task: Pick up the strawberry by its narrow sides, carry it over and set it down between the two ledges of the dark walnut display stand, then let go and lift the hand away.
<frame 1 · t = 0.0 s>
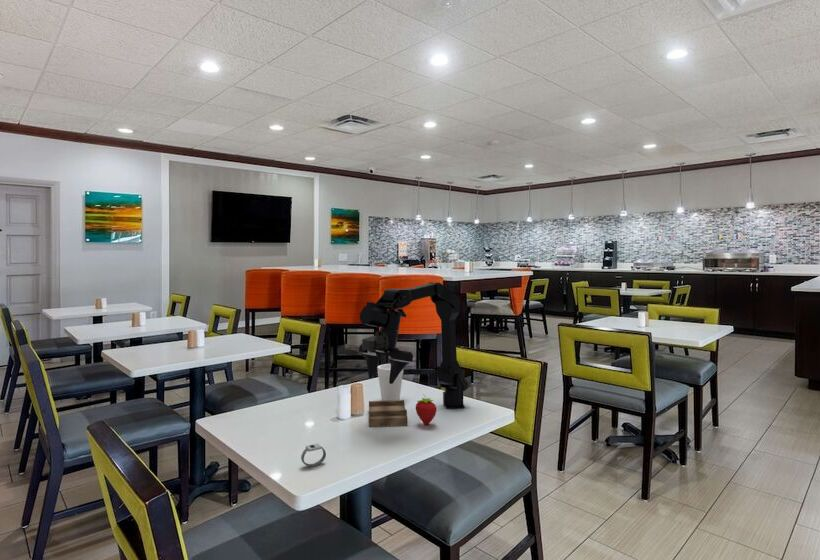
hand: (380, 380, 142), 15 cm above the table, tool pointing down, fingers open, 9 cm apart
strawberry: (426, 426, 148), on the table
display stand: (387, 417, 155), on the table
foam cup: (390, 402, 172), on the table
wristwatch: (313, 466, 120), on the table
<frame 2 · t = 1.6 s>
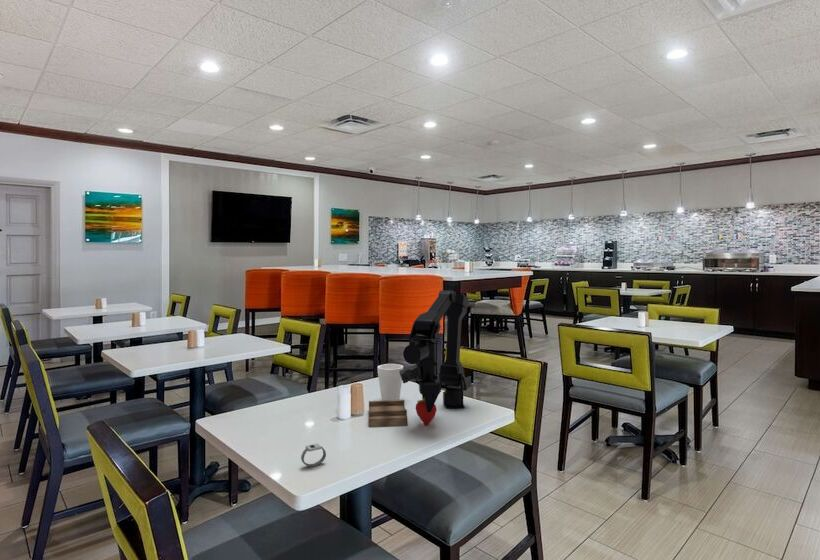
hand: (427, 407, 147), 6 cm above the table, tool pointing down, fingers open, 9 cm apart
nothing on the table moved.
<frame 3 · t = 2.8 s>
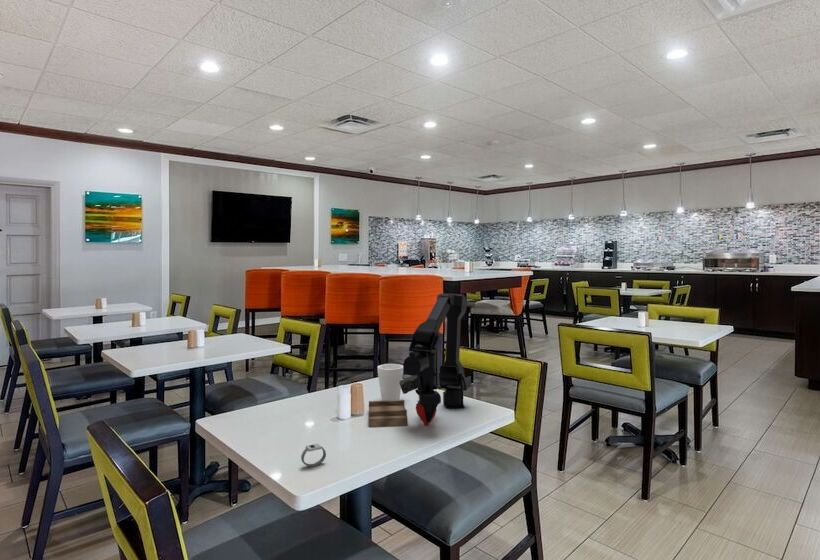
hand: (426, 417, 148), 2 cm above the table, tool pointing down, fingers closed on strawberry, 7 cm apart
strawberry: (426, 426, 148), on the table, touching gripper
everything else where it was.
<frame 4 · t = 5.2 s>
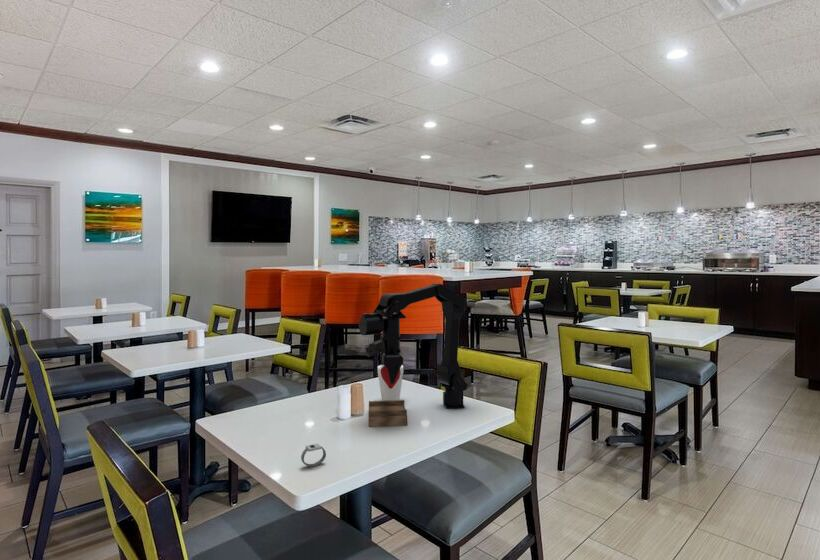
hand: (391, 380, 153), 13 cm above the table, tool pointing down, fingers closed on strawberry, 7 cm apart
strawberry: (390, 389, 153), point 10 cm above the table, touching gripper
everything else where it was.
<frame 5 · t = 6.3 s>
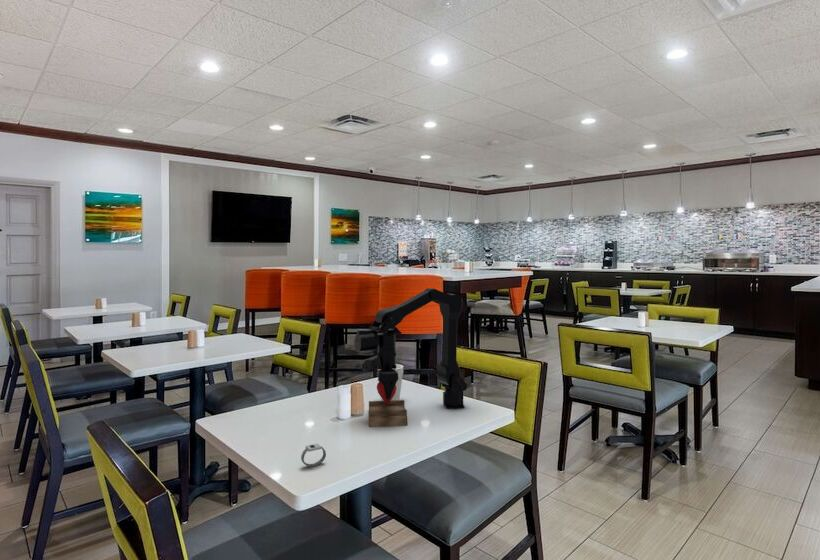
hand: (387, 395, 155), 7 cm above the table, tool pointing down, fingers closed on strawberry, 7 cm apart
strawberry: (386, 404, 155), point 4 cm above the table, touching gripper
everything else where it was.
when the fingers open (6 cm above the table, at t = 7.4 s): strawberry drops 1 cm, resting on display stand.
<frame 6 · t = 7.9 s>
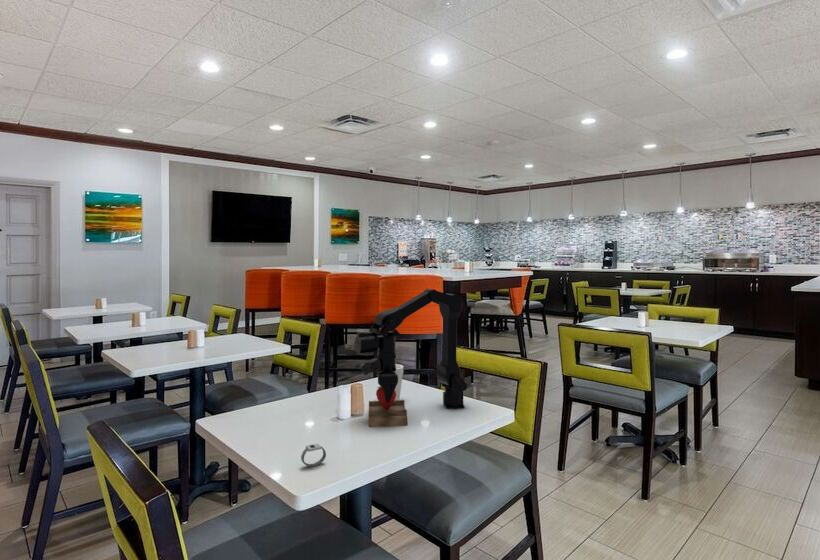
hand: (387, 398, 155), 6 cm above the table, tool pointing down, fingers open, 9 cm apart
strawberry: (386, 410, 155), point 2 cm above the table, touching display stand
everything else where it was.
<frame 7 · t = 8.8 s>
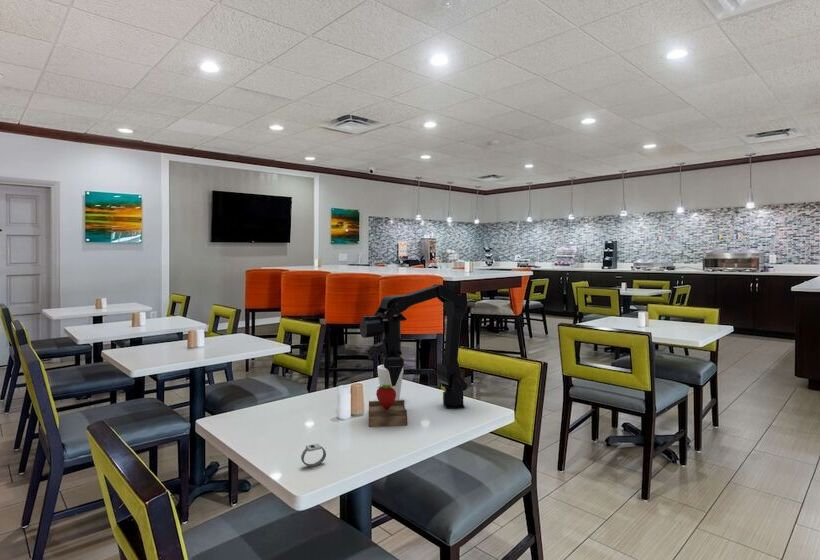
hand: (392, 382, 155), 12 cm above the table, tool pointing down, fingers open, 9 cm apart
nothing on the table moved.
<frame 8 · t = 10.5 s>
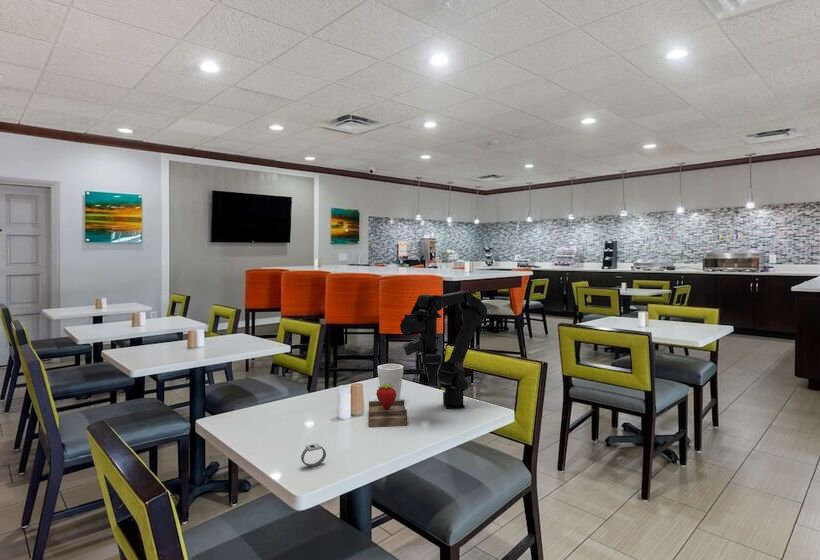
hand: (428, 378, 158), 12 cm above the table, tool pointing down, fingers open, 9 cm apart
nothing on the table moved.
at the end: strawberry 0.3 cm off-centre on the display stand, point 2.3 cm above the display stand's base; strawberry tilted 0°; the gripper is holding nothing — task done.
